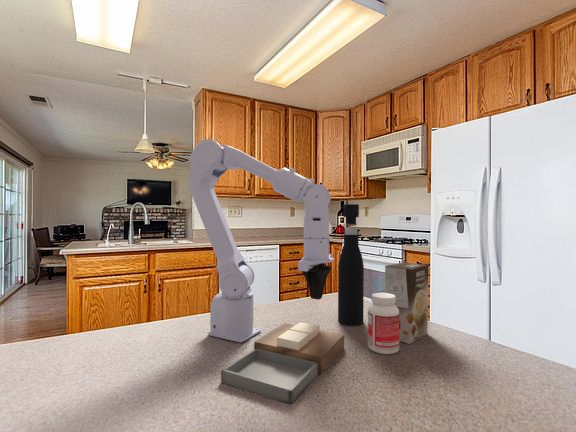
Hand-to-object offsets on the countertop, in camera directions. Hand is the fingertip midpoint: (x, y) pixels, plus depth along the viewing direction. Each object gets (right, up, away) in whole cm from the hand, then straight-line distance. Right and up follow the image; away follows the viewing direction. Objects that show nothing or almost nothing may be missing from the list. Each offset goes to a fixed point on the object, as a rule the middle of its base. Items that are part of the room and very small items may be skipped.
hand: (316, 298), depth 74 cm
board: (-4, -9, -9) cm, 13 cm away
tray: (-9, -9, -19) cm, 22 cm away
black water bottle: (+10, -9, +10) cm, 17 cm away
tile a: (-3, -6, -7) cm, 9 cm away
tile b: (-5, -6, -12) cm, 14 cm away
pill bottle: (+13, -9, -7) cm, 17 cm away
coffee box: (+20, -9, +1) cm, 22 cm away
